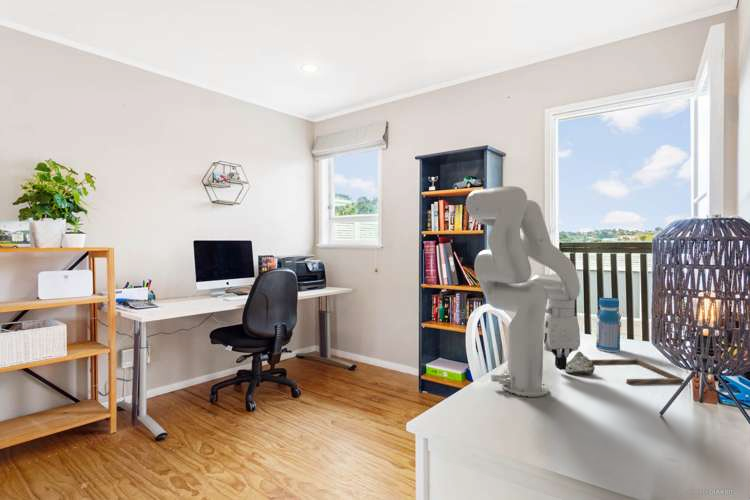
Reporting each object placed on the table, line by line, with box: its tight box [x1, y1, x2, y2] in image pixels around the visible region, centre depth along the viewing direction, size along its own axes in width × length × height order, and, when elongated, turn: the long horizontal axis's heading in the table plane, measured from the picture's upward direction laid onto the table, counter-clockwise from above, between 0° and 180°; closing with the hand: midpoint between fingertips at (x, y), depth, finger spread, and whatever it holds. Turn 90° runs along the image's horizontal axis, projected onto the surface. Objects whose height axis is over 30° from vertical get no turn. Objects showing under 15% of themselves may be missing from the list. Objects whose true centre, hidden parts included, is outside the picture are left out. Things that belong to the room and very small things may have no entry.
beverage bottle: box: [595, 297, 622, 353], centre depth 159 cm, size 8×8×20 cm
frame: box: [590, 358, 685, 385], centre depth 133 cm, size 17×20×1 cm
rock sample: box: [564, 351, 595, 376], centre depth 133 cm, size 10×8×9 cm
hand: (560, 368), depth 131 cm, fingers closed
